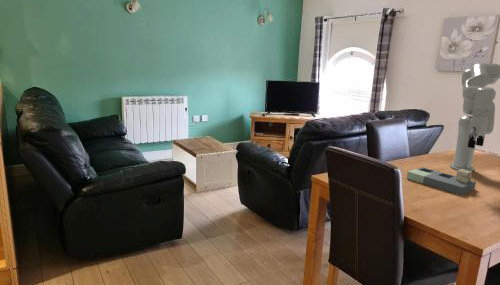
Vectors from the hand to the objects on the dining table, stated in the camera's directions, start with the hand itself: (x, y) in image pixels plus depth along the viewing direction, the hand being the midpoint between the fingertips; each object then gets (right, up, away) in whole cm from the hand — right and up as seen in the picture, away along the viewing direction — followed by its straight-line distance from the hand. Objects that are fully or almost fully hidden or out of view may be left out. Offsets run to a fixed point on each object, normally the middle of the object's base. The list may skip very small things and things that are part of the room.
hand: (475, 146), depth 184 cm
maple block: (-7, -17, -1) cm, 18 cm away
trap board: (-15, -20, +5) cm, 25 cm away
